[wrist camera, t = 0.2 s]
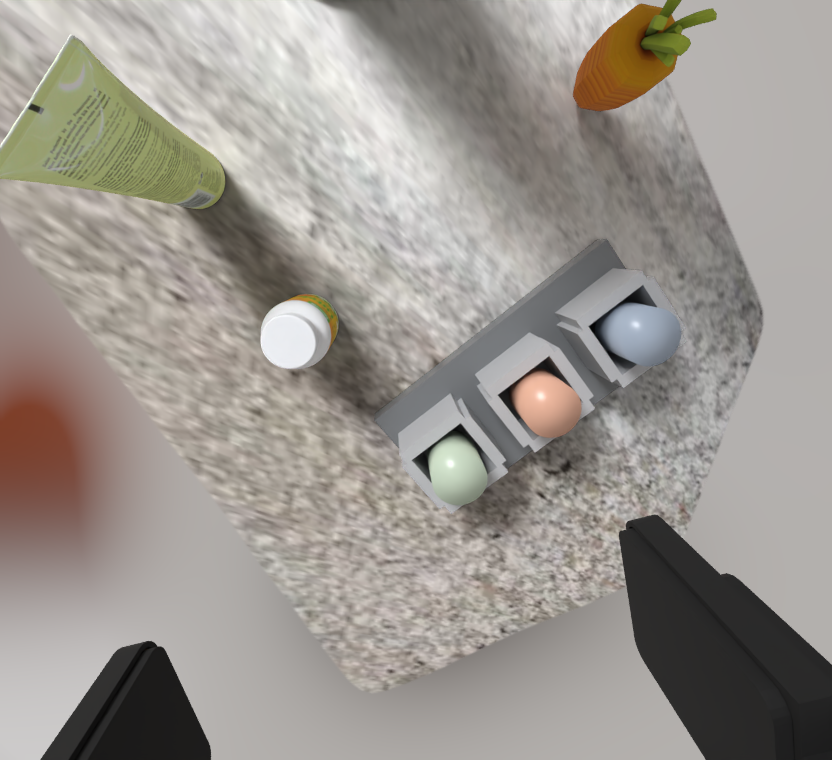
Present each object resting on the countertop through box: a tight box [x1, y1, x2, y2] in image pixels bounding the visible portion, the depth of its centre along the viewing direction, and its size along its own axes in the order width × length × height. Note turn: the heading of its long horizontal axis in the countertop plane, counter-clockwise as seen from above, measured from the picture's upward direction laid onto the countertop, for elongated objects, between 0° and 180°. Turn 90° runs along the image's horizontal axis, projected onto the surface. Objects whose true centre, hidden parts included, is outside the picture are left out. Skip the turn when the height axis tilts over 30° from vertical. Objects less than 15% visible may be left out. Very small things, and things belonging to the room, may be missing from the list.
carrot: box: [573, 0, 717, 111], centre depth 33 cm, size 5×5×15 cm
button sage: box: [427, 431, 487, 505], centre depth 40 cm, size 4×4×5 cm
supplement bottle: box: [261, 294, 339, 369], centre depth 39 cm, size 5×5×10 cm
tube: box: [0, 35, 225, 209], centre depth 30 cm, size 6×5×20 cm
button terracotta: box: [509, 368, 581, 438], centre depth 39 cm, size 4×4×5 cm
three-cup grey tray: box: [374, 239, 687, 514], centre depth 43 cm, size 12×26×7 cm, turn 128°
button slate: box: [595, 301, 681, 366], centre depth 38 cm, size 4×4×5 cm
